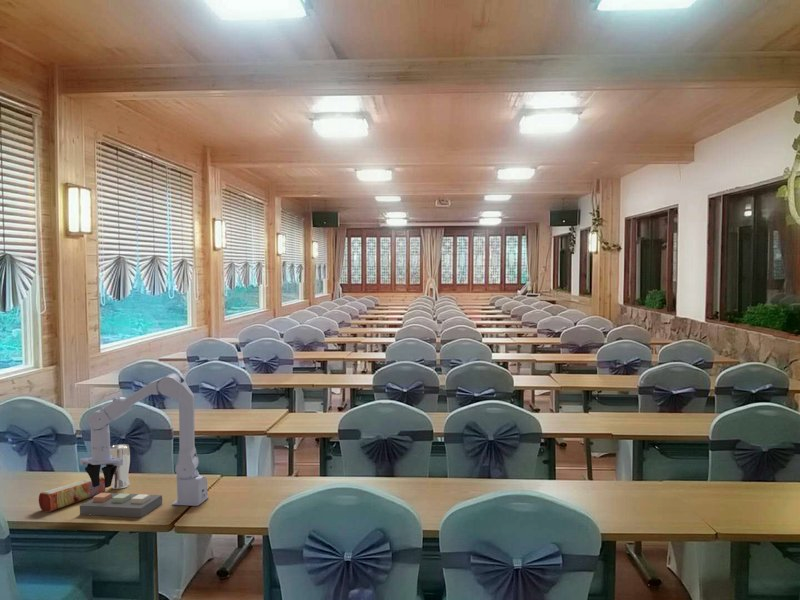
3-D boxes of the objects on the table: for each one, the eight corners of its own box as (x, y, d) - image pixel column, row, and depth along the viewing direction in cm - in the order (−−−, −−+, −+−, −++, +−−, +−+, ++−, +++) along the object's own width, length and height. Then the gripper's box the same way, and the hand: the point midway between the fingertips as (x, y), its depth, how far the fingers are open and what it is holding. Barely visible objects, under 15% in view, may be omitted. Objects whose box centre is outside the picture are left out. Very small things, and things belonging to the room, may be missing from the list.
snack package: (95, 491, 219) (94, 472, 218) (107, 493, 216) (106, 475, 215) (37, 511, 200) (37, 491, 200) (50, 514, 197) (49, 493, 196)
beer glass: (123, 490, 218) (121, 449, 218) (106, 489, 220) (104, 448, 219) (135, 483, 225) (133, 444, 225) (118, 483, 226) (117, 443, 226)
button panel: (162, 503, 203) (162, 495, 203) (141, 517, 191) (141, 508, 191) (104, 501, 207) (103, 492, 207) (79, 514, 195) (79, 505, 195)
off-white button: (150, 503, 199) (149, 494, 199) (142, 507, 196) (142, 498, 195) (139, 503, 200) (138, 494, 200) (131, 507, 196) (131, 498, 196)
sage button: (130, 502, 201) (130, 493, 201) (123, 507, 197) (123, 498, 197) (120, 502, 201) (119, 493, 201) (112, 506, 197) (112, 497, 197)
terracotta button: (112, 501, 202) (111, 493, 202) (104, 506, 198) (104, 497, 198) (101, 501, 202) (101, 492, 202) (93, 505, 199) (93, 496, 198)
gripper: (72, 448, 197) (74, 489, 197) (112, 449, 195) (114, 491, 195) (87, 443, 204) (89, 482, 204) (126, 444, 201) (127, 484, 202)
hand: (102, 486), depth 200 cm, fingers open, 4 cm apart
